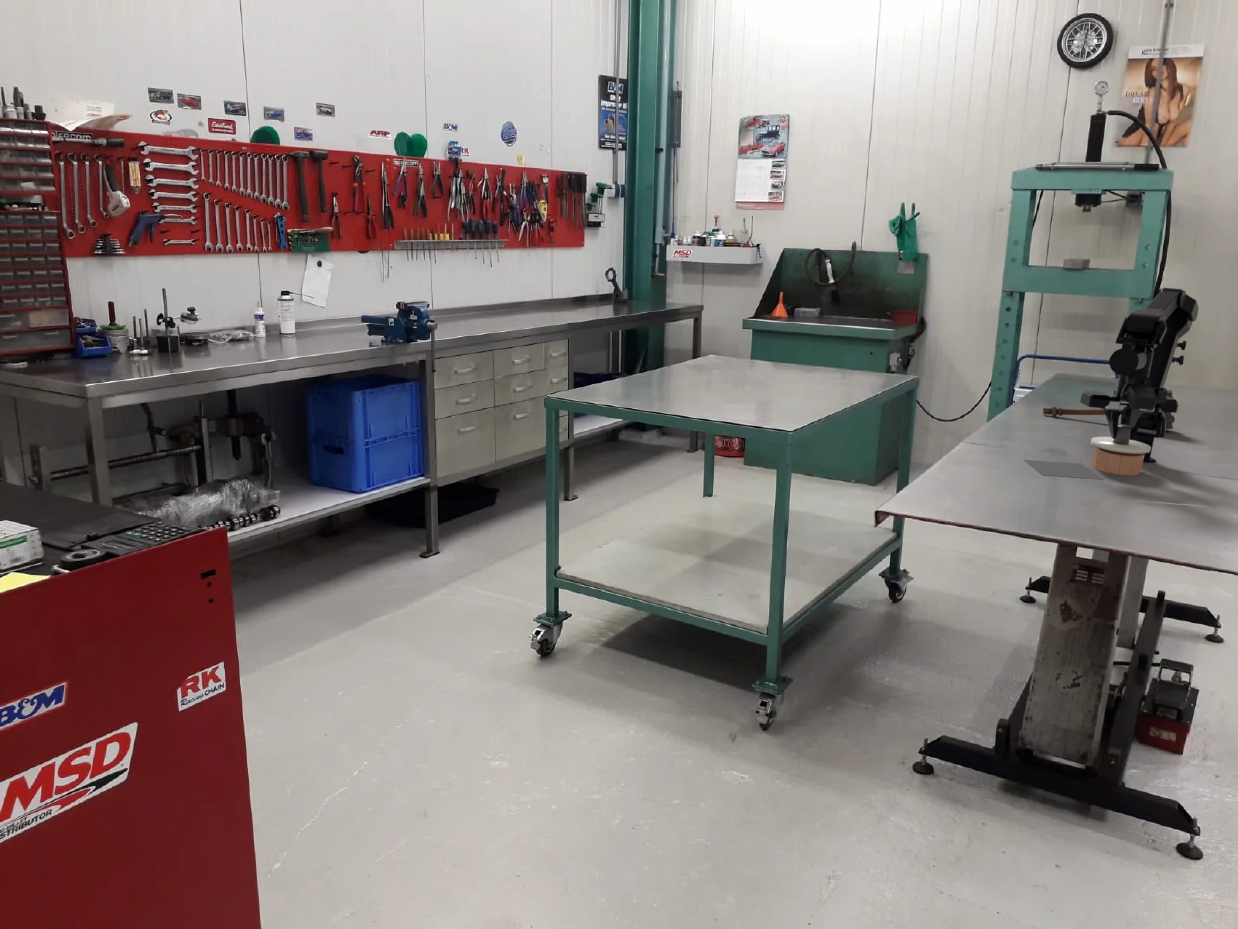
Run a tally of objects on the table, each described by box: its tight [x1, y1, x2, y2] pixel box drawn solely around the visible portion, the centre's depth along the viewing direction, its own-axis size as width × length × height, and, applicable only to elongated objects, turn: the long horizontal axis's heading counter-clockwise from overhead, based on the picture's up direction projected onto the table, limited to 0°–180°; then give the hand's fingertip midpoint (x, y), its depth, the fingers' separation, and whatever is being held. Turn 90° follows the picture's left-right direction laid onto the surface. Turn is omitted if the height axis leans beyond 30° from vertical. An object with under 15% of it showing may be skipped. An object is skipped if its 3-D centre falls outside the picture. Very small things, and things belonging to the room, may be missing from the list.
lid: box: [1090, 423, 1151, 454], centre depth 205 cm, size 12×12×5 cm
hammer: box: [1042, 389, 1176, 430], centre depth 257 cm, size 7×33×10 cm, turn 61°
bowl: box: [1089, 446, 1145, 476], centre depth 206 cm, size 10×10×4 cm
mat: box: [1023, 459, 1105, 481], centre depth 204 cm, size 13×13×1 cm
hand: (1121, 438), depth 205 cm, fingers closed on lid, 3 cm apart
